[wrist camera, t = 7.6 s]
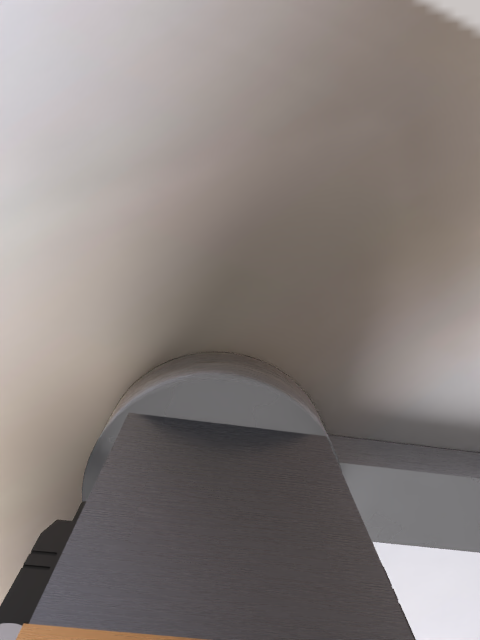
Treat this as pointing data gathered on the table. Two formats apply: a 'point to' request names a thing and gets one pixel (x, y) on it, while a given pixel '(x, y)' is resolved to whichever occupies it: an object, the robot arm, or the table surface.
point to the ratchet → (301, 417)
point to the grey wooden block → (218, 543)
